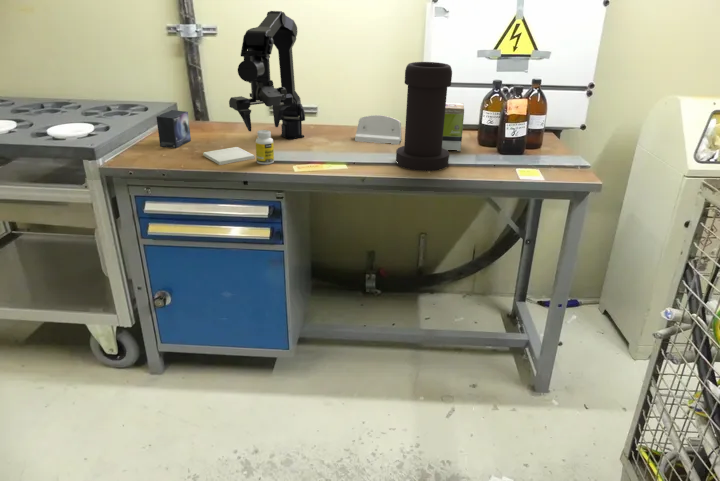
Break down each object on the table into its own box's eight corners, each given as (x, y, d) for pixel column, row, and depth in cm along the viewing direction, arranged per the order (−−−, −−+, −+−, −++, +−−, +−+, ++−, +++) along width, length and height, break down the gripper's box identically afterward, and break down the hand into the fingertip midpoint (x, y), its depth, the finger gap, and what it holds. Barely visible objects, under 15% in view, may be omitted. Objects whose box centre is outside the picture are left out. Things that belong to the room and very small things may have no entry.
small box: (177, 149, 178) (173, 117, 173) (159, 147, 179) (154, 116, 174) (192, 140, 187) (188, 110, 182) (175, 139, 188) (171, 109, 184)
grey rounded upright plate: (353, 141, 191) (356, 112, 190) (356, 142, 196) (358, 114, 195) (399, 144, 188) (402, 115, 187) (401, 145, 193) (404, 117, 192)
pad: (237, 149, 178) (237, 146, 178) (254, 158, 170) (254, 155, 169) (203, 155, 171) (203, 152, 171) (219, 164, 163) (219, 161, 163)
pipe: (448, 157, 175) (457, 62, 162) (447, 173, 161) (457, 69, 148) (398, 153, 178) (403, 59, 165) (393, 169, 163) (398, 67, 150)
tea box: (460, 144, 190) (464, 102, 184) (460, 152, 181) (465, 108, 175) (417, 142, 192) (420, 100, 185) (416, 149, 183) (419, 106, 176)
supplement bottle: (266, 166, 163) (264, 134, 159) (253, 162, 166) (250, 131, 161) (277, 161, 167) (276, 130, 163) (264, 158, 170) (262, 128, 166)
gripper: (244, 83, 145) (248, 139, 152) (302, 77, 155) (303, 130, 162) (226, 77, 153) (230, 131, 159) (282, 72, 163) (284, 123, 170)
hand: (263, 129), depth 163 cm, fingers open, 9 cm apart
